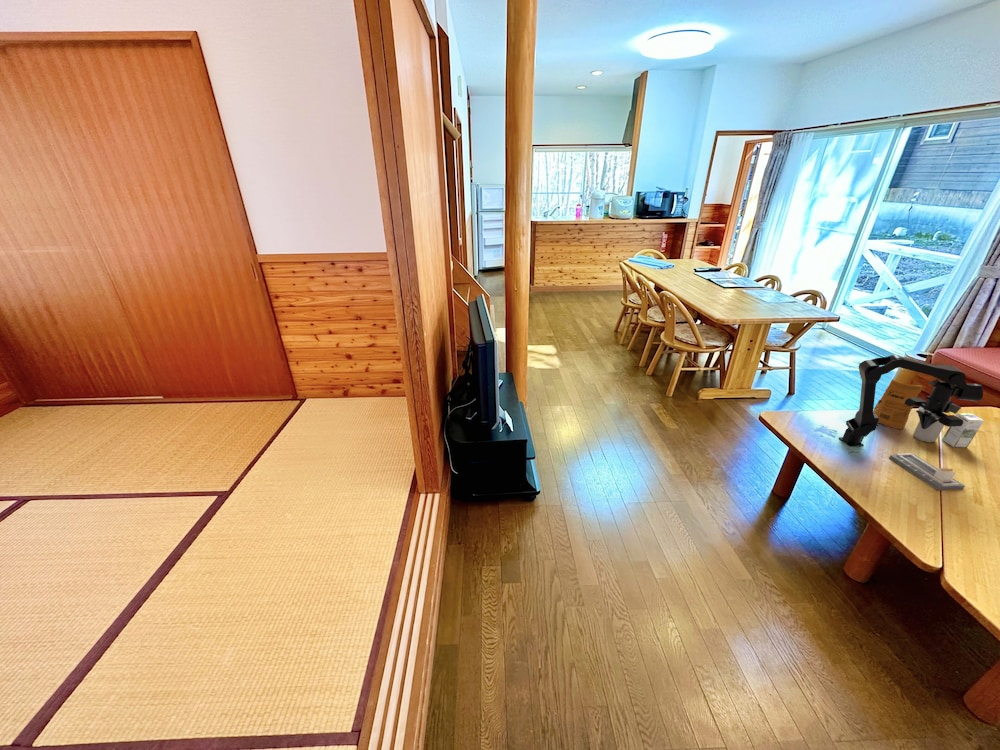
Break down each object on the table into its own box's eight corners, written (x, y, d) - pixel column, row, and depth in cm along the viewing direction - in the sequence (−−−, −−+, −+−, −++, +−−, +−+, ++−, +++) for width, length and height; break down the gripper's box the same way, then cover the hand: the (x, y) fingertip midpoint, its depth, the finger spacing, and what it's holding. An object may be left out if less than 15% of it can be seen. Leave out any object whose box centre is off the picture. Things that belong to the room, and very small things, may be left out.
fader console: (937, 490, 151) (940, 485, 150) (889, 457, 169) (891, 453, 168) (963, 489, 151) (966, 484, 150) (912, 456, 169) (914, 452, 168)
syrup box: (955, 440, 178) (971, 412, 172) (968, 448, 173) (984, 420, 167) (941, 439, 179) (956, 412, 172) (953, 447, 174) (969, 419, 167)
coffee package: (872, 413, 200) (889, 374, 190) (905, 423, 191) (925, 383, 182) (868, 421, 194) (885, 381, 185) (902, 431, 186) (922, 390, 176)
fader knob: (940, 482, 152) (946, 472, 150) (932, 477, 155) (938, 467, 153) (950, 481, 152) (956, 471, 150) (942, 476, 155) (948, 466, 153)
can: (939, 444, 176) (952, 421, 171) (919, 442, 178) (931, 419, 172) (927, 434, 183) (938, 412, 178) (908, 433, 184) (919, 411, 179)
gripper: (986, 407, 151) (966, 441, 158) (937, 385, 168) (921, 416, 175) (957, 408, 151) (938, 442, 158) (911, 386, 168) (896, 417, 175)
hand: (923, 428), depth 167 cm, fingers closed
